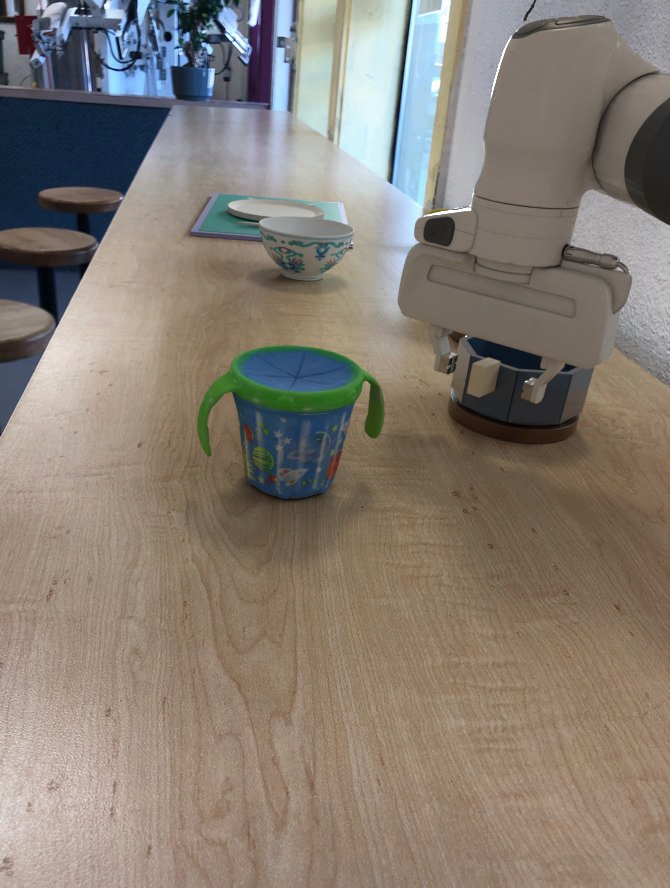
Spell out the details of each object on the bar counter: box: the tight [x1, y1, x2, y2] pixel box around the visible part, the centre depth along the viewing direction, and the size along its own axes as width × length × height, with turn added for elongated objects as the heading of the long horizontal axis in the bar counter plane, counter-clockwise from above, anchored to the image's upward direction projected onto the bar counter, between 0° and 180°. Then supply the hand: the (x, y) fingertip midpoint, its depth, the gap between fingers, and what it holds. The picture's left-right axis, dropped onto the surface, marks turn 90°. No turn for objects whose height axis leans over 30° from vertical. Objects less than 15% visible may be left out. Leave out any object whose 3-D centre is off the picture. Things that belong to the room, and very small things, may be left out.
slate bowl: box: [450, 335, 595, 426], centre depth 79 cm, size 15×12×6 cm
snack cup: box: [196, 344, 385, 500], centre depth 64 cm, size 16×10×10 cm
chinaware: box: [259, 216, 355, 282], centre depth 125 cm, size 15×15×8 cm
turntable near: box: [447, 388, 580, 445], centre depth 82 cm, size 13×13×2 cm
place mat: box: [189, 192, 354, 247], centre depth 166 cm, size 45×30×2 cm
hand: (486, 385), depth 74 cm, fingers open, 8 cm apart
